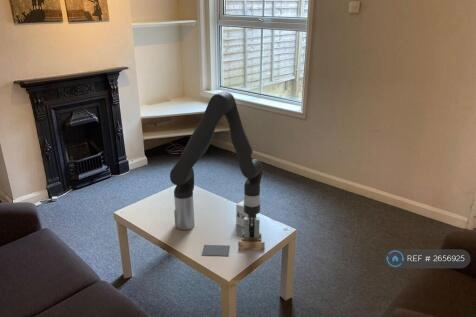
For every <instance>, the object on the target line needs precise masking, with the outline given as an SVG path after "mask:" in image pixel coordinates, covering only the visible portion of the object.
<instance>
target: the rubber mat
mask: <svg viewBox="0 0 476 317" xmlns="http://www.w3.org/2000/svg"><path fill="white" fill-rule="evenodd" d="M230 246H231V245H226V244H225V245H224V244H223V245H222V244H219V245H218V244H204V245H203V249H202V252H201V256H208V257H209V256H210V257H212V256H214V257H230V254H229V253H230V249H231V248H230Z"/></svg>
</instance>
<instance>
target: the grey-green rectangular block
mask: <svg viewBox="0 0 476 317" xmlns="http://www.w3.org/2000/svg"><path fill="white" fill-rule="evenodd" d="M260 219H261V218H260V217H257V216H256V226H255V227H254V229H255V231H254V237H253V238H259V233H260V221H261V220H260ZM249 223H250V222H249ZM243 233H244V238H252V237H249V226H248V217H244V227H243Z"/></svg>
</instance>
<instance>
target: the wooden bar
mask: <svg viewBox="0 0 476 317" xmlns="http://www.w3.org/2000/svg"><path fill="white" fill-rule="evenodd" d="M265 243H266V242H265V241H261V242H244V241H242V240H241V241H240V240H239V241H238V243H237V244H238V245H237V248H238V249H239V250H240V251H241V250H242V251H244V250H245V251H246V250H247V251H263V250H265V249H266V248H265V245H266V244H265Z"/></svg>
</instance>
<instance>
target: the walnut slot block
mask: <svg viewBox="0 0 476 317" xmlns="http://www.w3.org/2000/svg"><path fill="white" fill-rule="evenodd" d="M241 236H242V237H241V241H244V242H262V233H261V232H259V238H244V232H242V235H241Z"/></svg>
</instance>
